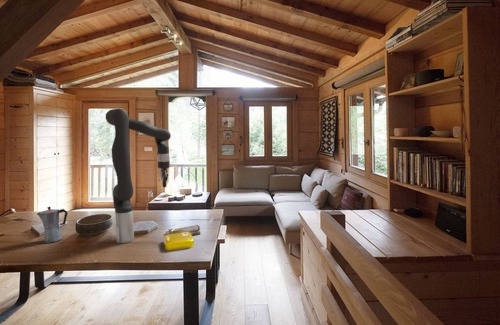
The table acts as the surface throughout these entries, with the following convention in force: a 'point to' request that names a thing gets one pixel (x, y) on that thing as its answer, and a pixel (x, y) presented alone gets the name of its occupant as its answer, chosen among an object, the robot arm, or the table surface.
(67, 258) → the table surface
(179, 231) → the tong fixed arm
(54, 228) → the moka pot
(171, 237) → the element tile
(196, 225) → the tong swing arm
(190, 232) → the tong board
